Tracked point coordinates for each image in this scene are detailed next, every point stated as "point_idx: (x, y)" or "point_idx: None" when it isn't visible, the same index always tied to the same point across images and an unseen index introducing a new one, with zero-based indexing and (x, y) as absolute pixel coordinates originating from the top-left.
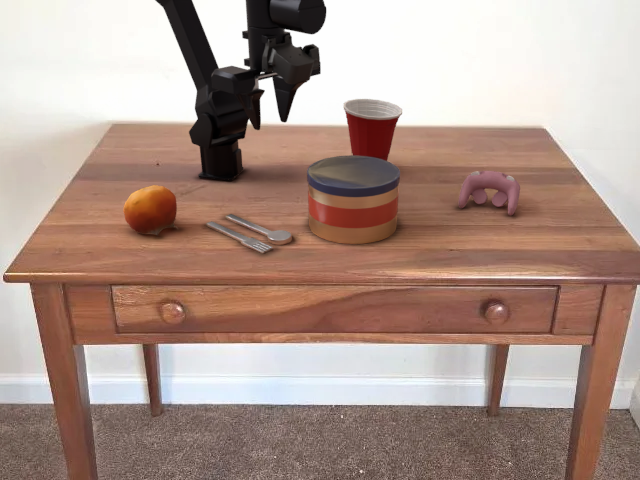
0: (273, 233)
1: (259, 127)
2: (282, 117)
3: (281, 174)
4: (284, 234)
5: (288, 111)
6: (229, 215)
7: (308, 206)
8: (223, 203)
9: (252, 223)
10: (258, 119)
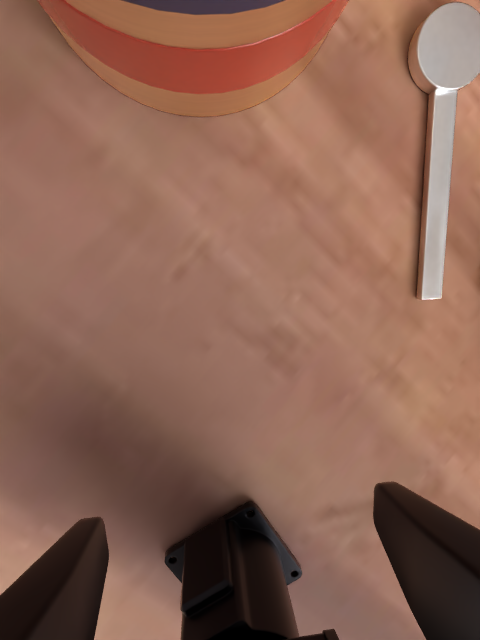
0: (456, 72)
1: (394, 492)
2: (96, 570)
3: (93, 461)
4: (440, 36)
5: (22, 594)
6: (433, 292)
7: (336, 17)
8: (367, 388)
9: (430, 198)
10: (470, 537)
